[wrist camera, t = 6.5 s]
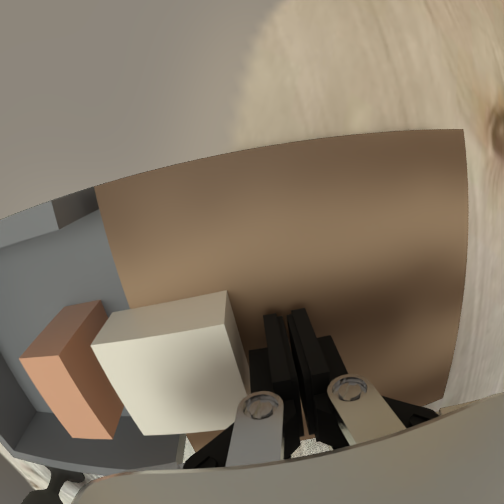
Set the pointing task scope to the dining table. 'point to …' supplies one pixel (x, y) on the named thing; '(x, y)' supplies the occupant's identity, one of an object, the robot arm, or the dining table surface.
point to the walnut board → (312, 247)
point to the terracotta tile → (74, 372)
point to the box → (41, 314)
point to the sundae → (53, 487)
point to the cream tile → (176, 364)
